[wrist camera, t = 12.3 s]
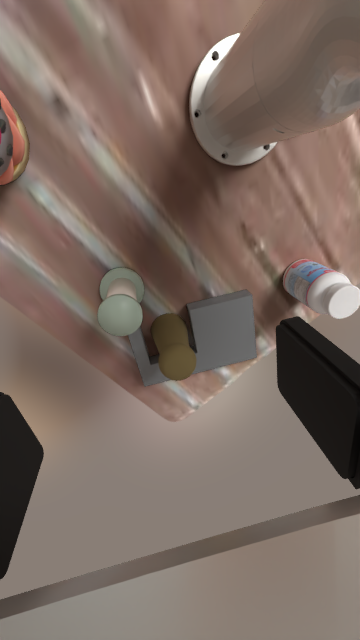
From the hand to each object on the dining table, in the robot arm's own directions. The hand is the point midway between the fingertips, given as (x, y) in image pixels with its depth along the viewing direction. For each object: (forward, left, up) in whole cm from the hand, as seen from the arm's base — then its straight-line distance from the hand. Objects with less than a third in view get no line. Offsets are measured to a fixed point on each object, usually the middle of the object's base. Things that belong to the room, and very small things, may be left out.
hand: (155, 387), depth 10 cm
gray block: (-5, +18, -32) cm, 37 cm away
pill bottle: (-24, +12, -32) cm, 42 cm away
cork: (-1, +16, -32) cm, 36 cm away
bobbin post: (+4, +7, -32) cm, 33 cm away
